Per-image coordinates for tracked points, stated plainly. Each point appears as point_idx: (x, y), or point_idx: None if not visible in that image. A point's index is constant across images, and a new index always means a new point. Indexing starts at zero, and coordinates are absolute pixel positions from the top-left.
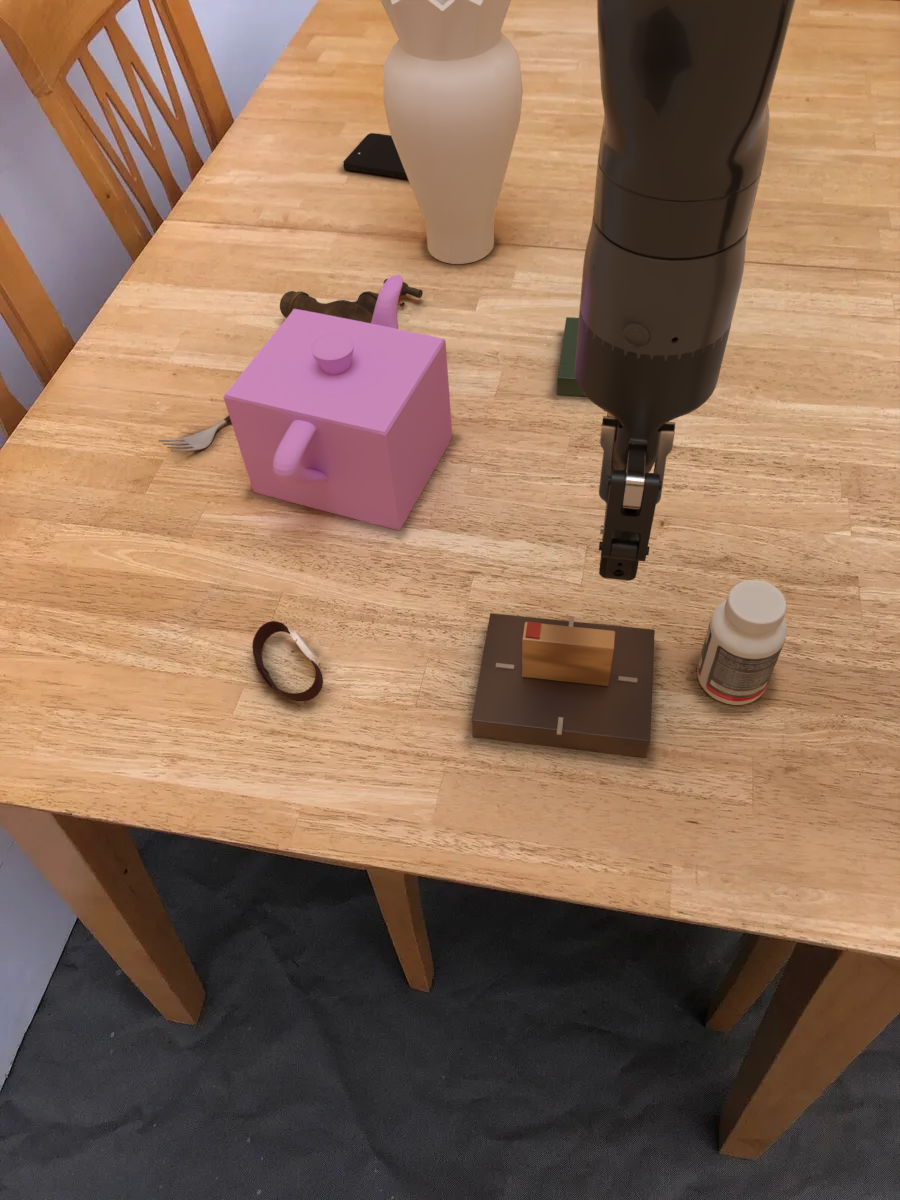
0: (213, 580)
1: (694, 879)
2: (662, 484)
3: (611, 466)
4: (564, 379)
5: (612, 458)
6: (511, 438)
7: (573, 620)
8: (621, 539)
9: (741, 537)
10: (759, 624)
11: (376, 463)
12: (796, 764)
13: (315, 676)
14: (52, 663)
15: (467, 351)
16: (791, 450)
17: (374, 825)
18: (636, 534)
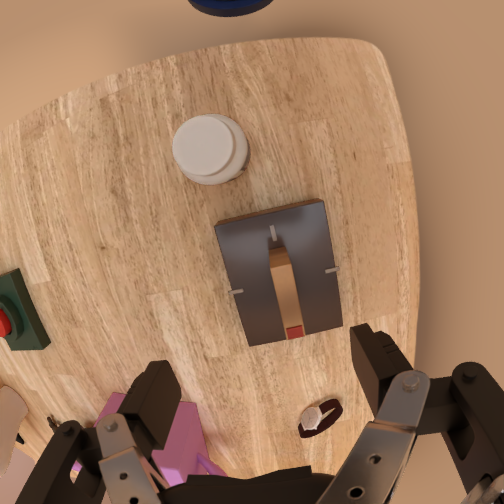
0: (272, 455)
1: (390, 148)
2: (399, 462)
3: (176, 405)
4: (42, 344)
5: (173, 416)
6: (92, 361)
7: (232, 291)
8: (466, 418)
9: (91, 187)
10: (232, 135)
11: (186, 452)
12: (282, 94)
13: (331, 408)
14: (337, 471)
15: (58, 392)
16: (21, 182)
17: (401, 337)
18: (450, 406)
